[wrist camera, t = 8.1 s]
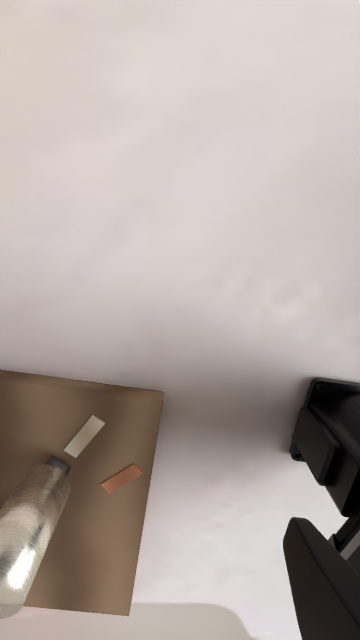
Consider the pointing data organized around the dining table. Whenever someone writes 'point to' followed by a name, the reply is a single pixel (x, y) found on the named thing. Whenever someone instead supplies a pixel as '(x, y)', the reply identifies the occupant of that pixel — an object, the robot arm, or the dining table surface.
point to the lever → (29, 528)
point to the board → (83, 482)
